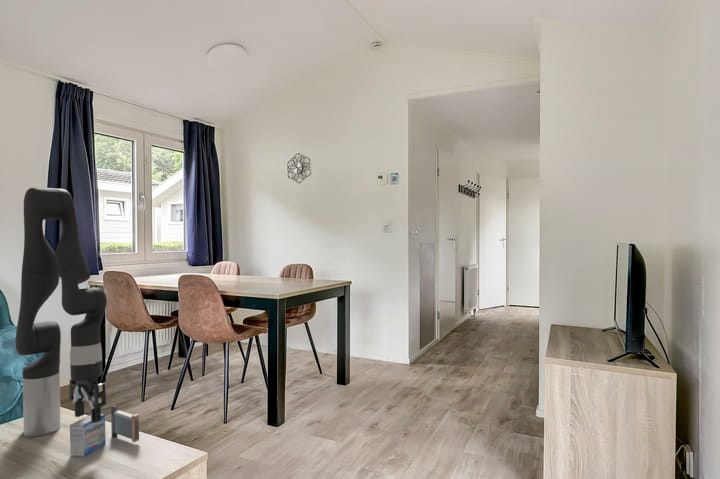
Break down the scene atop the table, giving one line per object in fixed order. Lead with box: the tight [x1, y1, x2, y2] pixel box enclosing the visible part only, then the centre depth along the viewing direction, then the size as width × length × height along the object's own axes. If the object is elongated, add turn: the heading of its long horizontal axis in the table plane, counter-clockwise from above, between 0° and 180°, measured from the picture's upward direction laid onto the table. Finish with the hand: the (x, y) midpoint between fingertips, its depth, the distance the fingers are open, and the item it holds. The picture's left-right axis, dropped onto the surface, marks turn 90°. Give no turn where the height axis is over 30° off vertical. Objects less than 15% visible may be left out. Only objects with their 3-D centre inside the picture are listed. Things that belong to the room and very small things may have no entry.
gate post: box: [110, 405, 119, 439], centre depth 131 cm, size 2×2×9 cm
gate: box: [114, 409, 140, 443], centre depth 128 cm, size 10×1×7 cm, turn 59°
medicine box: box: [69, 413, 107, 457], centre depth 123 cm, size 8×4×9 cm, turn 168°
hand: (87, 418), depth 122 cm, fingers open, 8 cm apart
